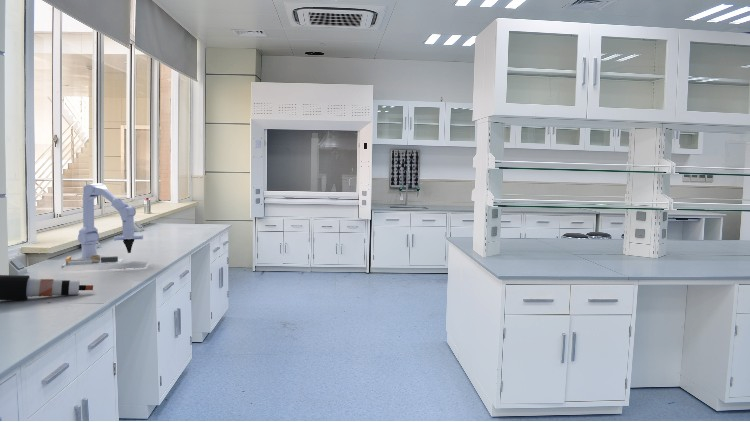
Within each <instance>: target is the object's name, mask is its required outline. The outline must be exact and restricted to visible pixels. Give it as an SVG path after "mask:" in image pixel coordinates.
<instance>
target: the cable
mask: <svg viewBox="0 0 750 422" xmlns="http://www.w3.org/2000/svg"><path fill="white" fill-rule="evenodd" d="M80 282H81V281H80V280H67V279H65V280H63V279H54V278H52V279H51V278H50V279H49V278H45V279H44V278H31V277H30V275H29V274H28V275H23V274H22V275H18V274H17V275H16V274H15V275H13V274H11V275H9V274H8V275H7V274H0V301H27V300H28V298H32V297H53V296H59V297H60V296H78V295H80V294H79V293H80V291H94V285H92V284H91V285H89V284H88V285H87V284H80Z"/></svg>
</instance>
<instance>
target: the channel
mask: <svg viewBox="0 0 750 422" xmlns="http://www.w3.org/2000/svg"><path fill="white" fill-rule="evenodd" d="M122 262H123V258H118V261H116V262H101V259H100V261H99V262H92V261H90V258H72V256H71V255H70V256H67V257H66V258H65V262H64V263H63V264H62V265H61V268H64V267H66V266H81V265H83V266H85V265H103V264H104V265H105V264H120V263H122Z"/></svg>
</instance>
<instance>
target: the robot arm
mask: <svg viewBox="0 0 750 422" xmlns="http://www.w3.org/2000/svg"><path fill="white" fill-rule="evenodd" d="M82 189H83V191H82V192H83V193H82V225H83V226H82V227H81V228H80V229H79V230H78V236H77V241H78V242H79V244H80V245H81V257H82V258H81V259H90V257H91V256H92V255H98V253H97V252H98V251H97V248H98V247H97V243H98V241H99V240H100V235H99V231H98V228H97V227H95V199H96V198H97V197H99V196H102V197H103V198H105V199H106V200H107V201H109V202H110V203H111V206H112V207H113V208H114V209H115V210H116V211H118V214H119V216H120V218H121V223H122V225H121V226H122V235H119V236H114V237H113V241H122V242H123V244H124V246H125V248H126V250H127V251H126V252H127V254H131V252H132V247H133V244H134V242H135V240H144V235H135V222H134V221H135V219H134V218H135V216H136V213H137V211H136V208H135V207H134V206H133V205H129V204H128V203H126V202H125V201H124V200H123V198H121V197H116V196H115V195H114V194H113V193H112V192H111V191H110V190H109V189H108V187H107V186H106V184H104V183H102V182H100V183H87V184H85V185H84V186H83V188H82Z"/></svg>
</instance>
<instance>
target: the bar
mask: <svg viewBox="0 0 750 422" xmlns="http://www.w3.org/2000/svg"><path fill="white" fill-rule="evenodd" d="M118 259H119V256H118V255H115V256H100V260H101V262H116V261H118Z"/></svg>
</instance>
